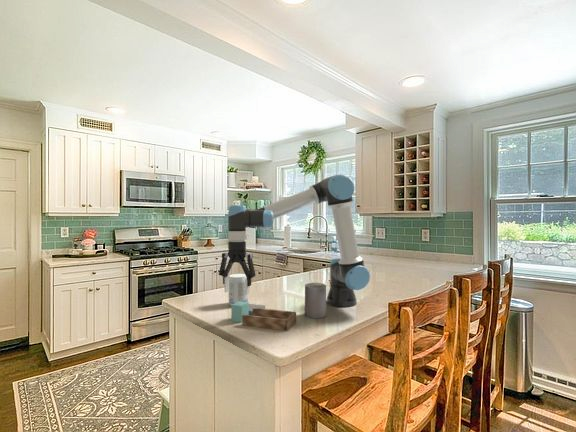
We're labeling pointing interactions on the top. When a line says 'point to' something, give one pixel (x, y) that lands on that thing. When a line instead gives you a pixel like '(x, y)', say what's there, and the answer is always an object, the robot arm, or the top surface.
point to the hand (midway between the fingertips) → (236, 292)
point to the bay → (270, 319)
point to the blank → (239, 311)
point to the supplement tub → (237, 288)
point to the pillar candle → (315, 300)
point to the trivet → (254, 307)
